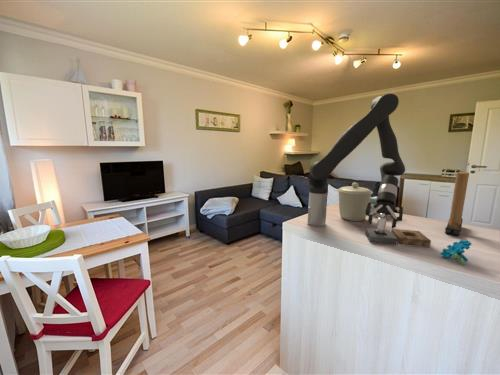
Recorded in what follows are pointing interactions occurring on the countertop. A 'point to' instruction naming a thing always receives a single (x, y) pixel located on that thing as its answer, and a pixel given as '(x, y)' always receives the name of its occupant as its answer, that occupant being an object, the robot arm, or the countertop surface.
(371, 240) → the socket block
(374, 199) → the light bulb box
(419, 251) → the countertop surface
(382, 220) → the steel pin
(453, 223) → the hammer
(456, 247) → the blue pixel flower
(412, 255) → the countertop surface
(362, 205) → the canister
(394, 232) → the rack block
